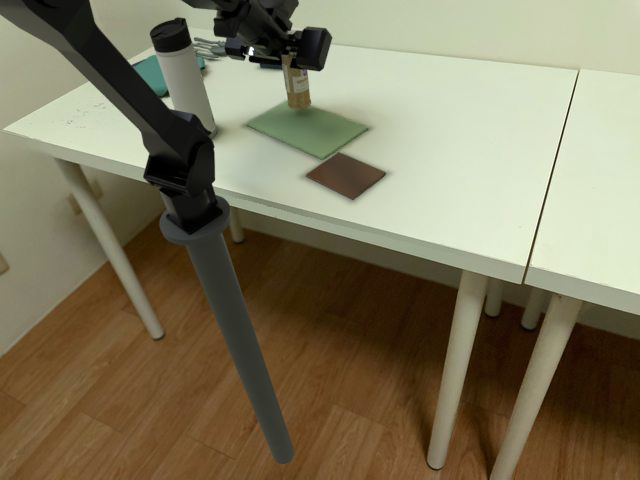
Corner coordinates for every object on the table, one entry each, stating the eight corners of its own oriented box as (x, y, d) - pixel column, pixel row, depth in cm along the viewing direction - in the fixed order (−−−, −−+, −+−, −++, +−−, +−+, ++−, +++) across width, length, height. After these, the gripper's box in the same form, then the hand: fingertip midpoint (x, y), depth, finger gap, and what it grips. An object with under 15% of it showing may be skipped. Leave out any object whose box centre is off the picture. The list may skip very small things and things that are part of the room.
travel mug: (225, 128, 89) (195, 18, 75) (201, 146, 85) (166, 33, 71) (201, 122, 92) (168, 15, 78) (177, 139, 88) (139, 29, 74)
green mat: (322, 160, 78) (322, 158, 78) (246, 125, 89) (246, 123, 89) (368, 128, 84) (368, 126, 84) (291, 100, 95) (291, 98, 95)
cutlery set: (102, 89, 108) (98, 79, 106) (193, 41, 125) (190, 32, 123) (160, 105, 99) (156, 95, 97) (250, 51, 116) (248, 41, 114)
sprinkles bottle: (308, 110, 86) (299, 36, 77) (284, 110, 87) (273, 36, 78) (314, 99, 90) (306, 26, 80) (291, 98, 91) (281, 26, 81)
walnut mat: (353, 199, 70) (352, 197, 69) (305, 176, 75) (305, 174, 75) (386, 174, 73) (386, 172, 73) (338, 153, 79) (338, 151, 79)
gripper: (321, -29, 66) (357, 25, 80) (218, -33, 74) (268, 17, 88) (299, 49, 67) (339, 89, 81) (199, 36, 74) (252, 75, 88)
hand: (298, 65), depth 84 cm, fingers closed on sprinkles bottle, 4 cm apart
